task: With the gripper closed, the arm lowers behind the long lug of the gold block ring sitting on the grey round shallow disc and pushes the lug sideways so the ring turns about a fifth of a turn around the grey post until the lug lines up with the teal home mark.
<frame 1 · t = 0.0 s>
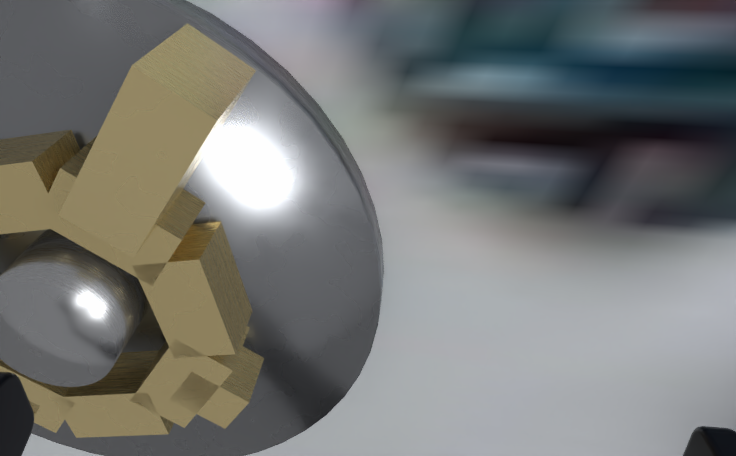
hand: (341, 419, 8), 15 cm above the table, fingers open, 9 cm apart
grey round shallow disc: (109, 255, 26), on the table
gold block ring: (82, 280, 22), point 4 cm above the table, hinge at -35.0°
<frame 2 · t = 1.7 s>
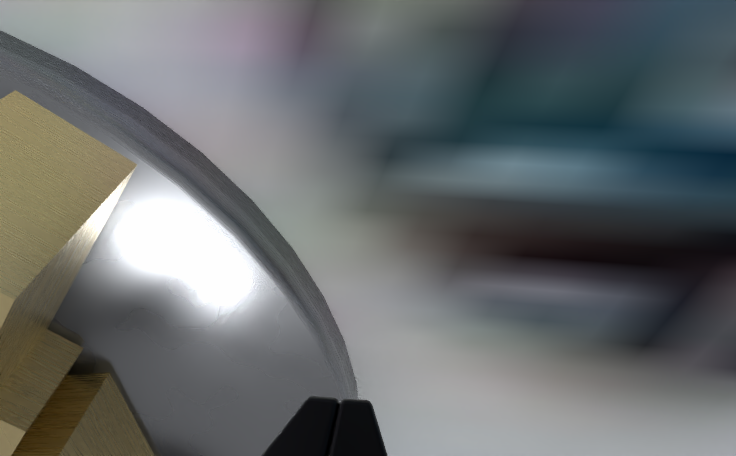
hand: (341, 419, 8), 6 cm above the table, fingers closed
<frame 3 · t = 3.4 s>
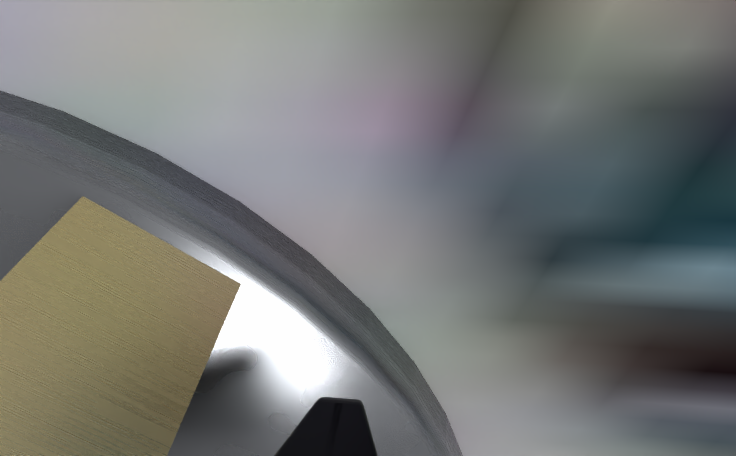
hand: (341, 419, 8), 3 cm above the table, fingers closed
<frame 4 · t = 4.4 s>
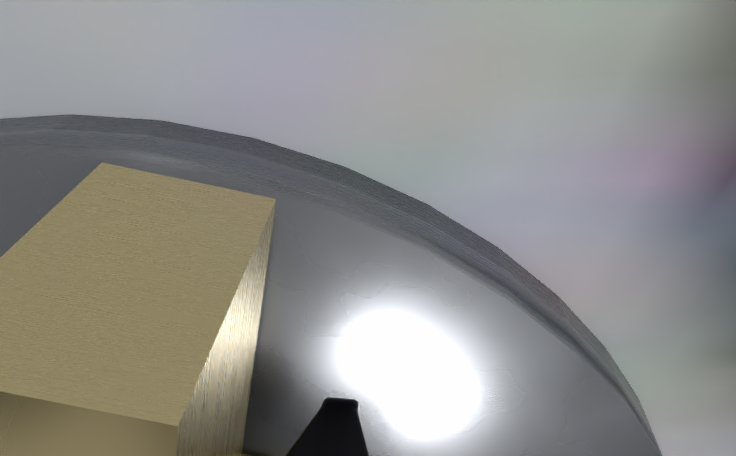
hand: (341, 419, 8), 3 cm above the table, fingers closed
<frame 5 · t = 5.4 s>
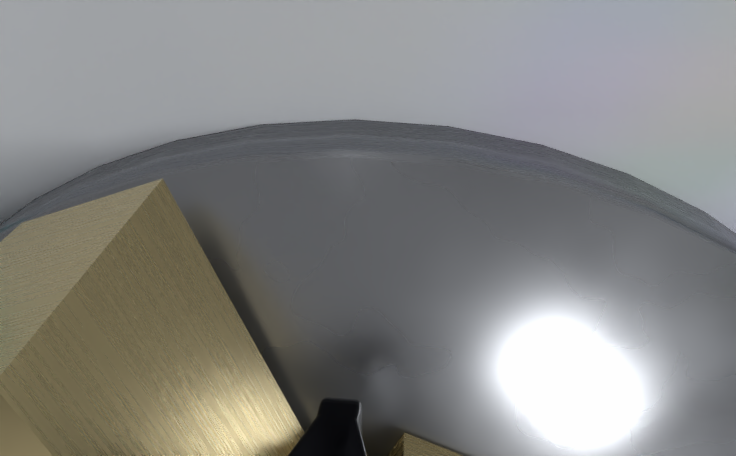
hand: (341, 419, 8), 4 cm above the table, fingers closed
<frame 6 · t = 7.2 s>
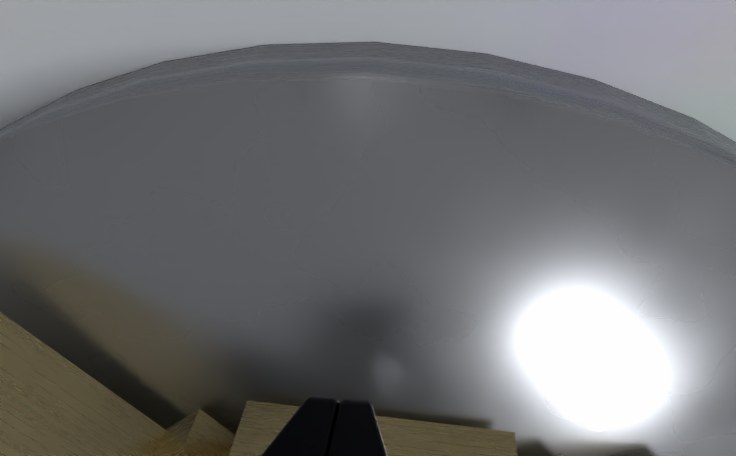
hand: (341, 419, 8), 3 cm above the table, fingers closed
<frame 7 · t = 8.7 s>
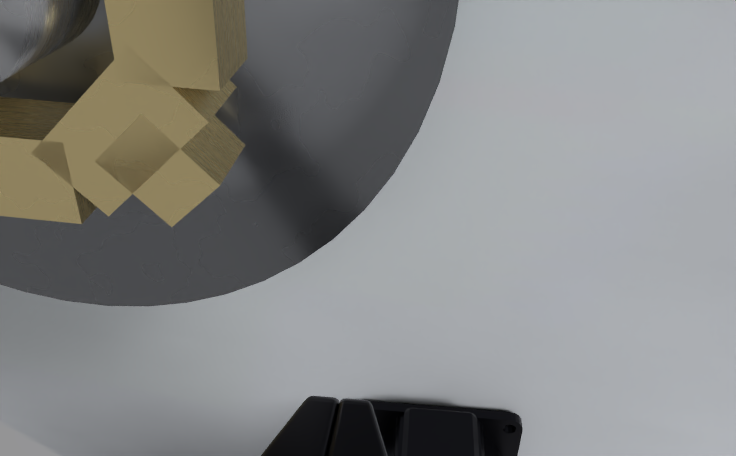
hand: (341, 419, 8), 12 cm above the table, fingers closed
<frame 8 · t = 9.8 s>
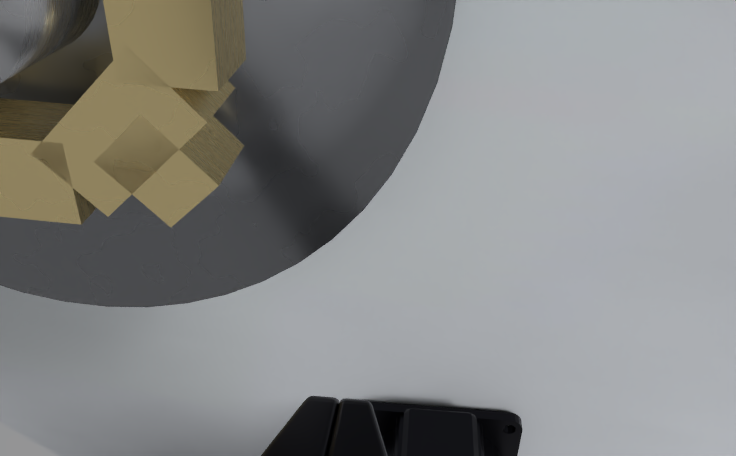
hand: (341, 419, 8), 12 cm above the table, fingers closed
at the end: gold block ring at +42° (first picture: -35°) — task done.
